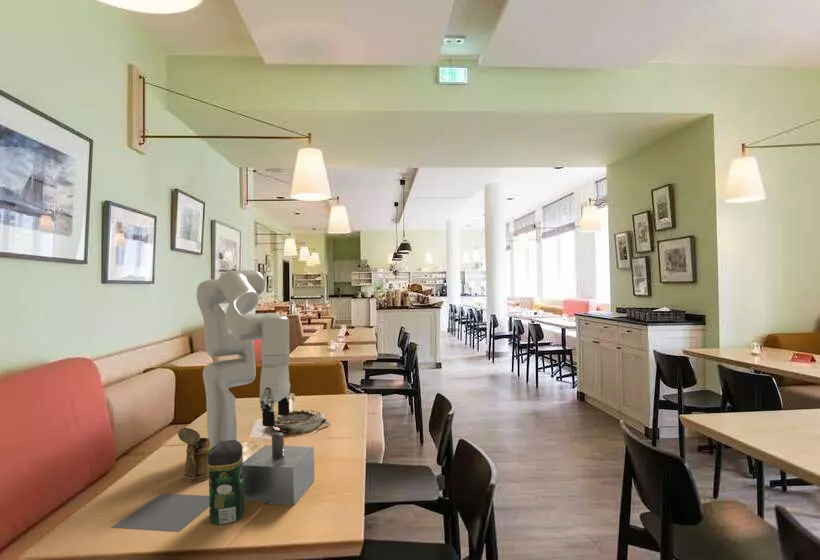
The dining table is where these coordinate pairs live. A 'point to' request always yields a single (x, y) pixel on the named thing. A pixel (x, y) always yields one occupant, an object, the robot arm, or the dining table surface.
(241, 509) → the coffee jar
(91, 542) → the dining table surface
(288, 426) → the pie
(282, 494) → the cover
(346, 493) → the dining table surface
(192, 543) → the dining table surface
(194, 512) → the mat
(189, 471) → the wooden mug
